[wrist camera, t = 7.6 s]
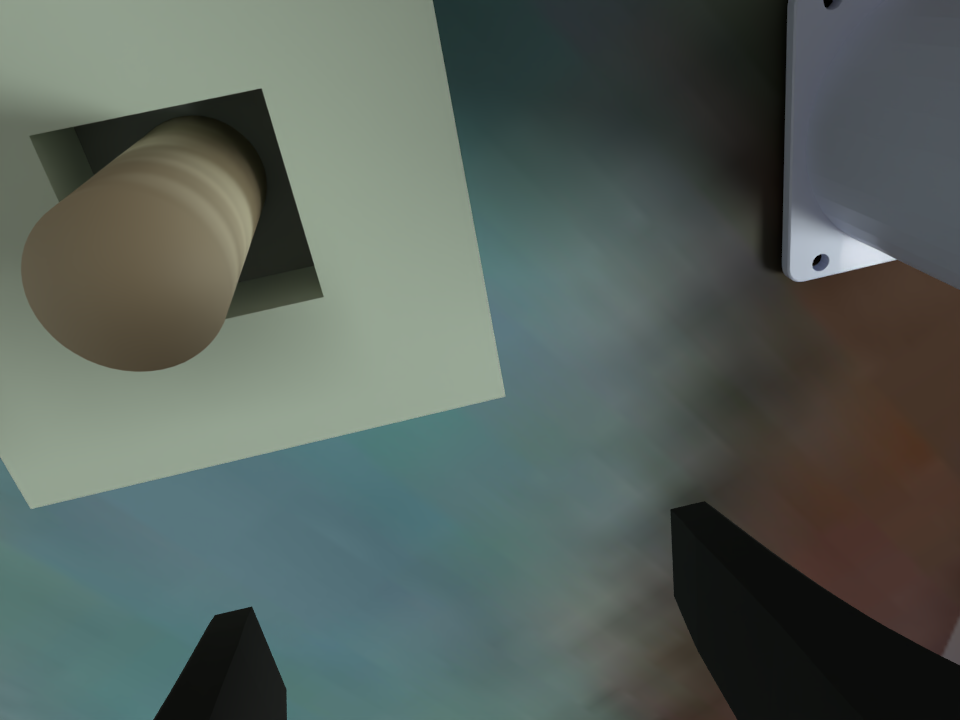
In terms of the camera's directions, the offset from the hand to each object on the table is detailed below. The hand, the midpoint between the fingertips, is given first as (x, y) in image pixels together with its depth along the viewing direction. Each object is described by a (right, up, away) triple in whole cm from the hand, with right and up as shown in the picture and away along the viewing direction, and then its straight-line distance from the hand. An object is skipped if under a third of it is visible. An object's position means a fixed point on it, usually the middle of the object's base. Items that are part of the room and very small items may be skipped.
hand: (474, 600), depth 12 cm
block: (-7, +8, +6) cm, 12 cm away
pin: (-7, +8, +5) cm, 12 cm away
